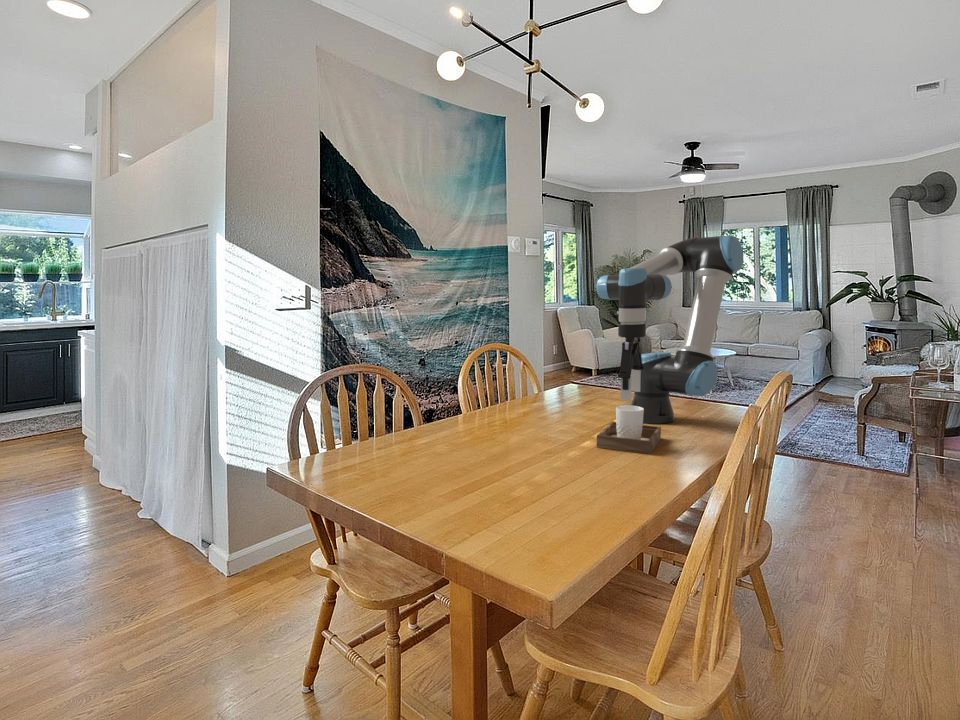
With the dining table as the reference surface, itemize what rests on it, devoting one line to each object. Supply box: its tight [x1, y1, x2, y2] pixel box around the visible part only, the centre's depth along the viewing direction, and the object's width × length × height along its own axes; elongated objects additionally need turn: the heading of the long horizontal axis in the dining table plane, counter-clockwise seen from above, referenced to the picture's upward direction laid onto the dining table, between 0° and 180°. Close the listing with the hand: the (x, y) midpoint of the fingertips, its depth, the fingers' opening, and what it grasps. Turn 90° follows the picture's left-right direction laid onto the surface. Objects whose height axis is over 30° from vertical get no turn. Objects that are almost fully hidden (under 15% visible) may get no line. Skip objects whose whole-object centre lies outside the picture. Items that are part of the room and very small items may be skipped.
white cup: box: [615, 404, 644, 440], centre depth 165 cm, size 8×8×10 cm
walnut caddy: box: [596, 421, 662, 455], centre depth 167 cm, size 18×15×4 cm
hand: (630, 396), depth 164 cm, fingers open, 13 cm apart
